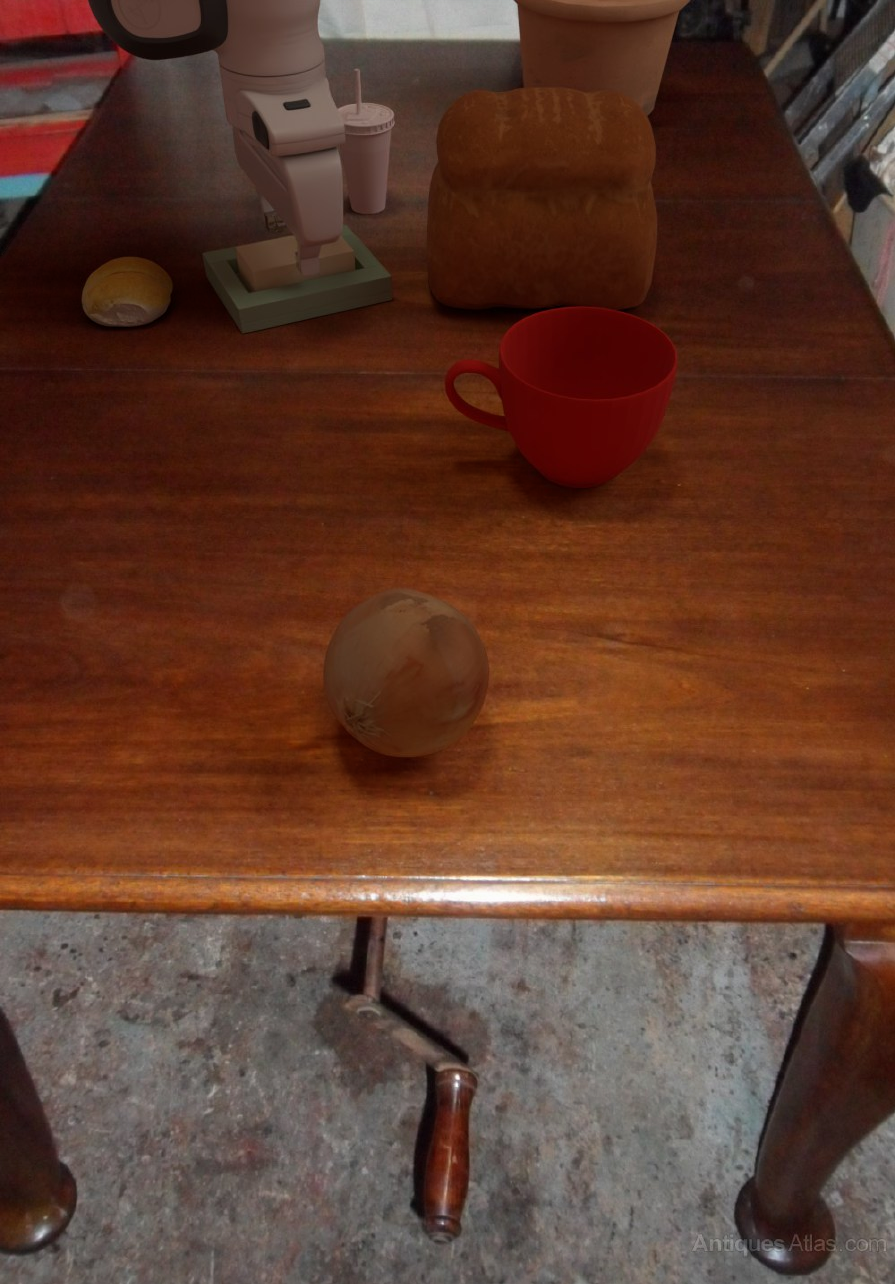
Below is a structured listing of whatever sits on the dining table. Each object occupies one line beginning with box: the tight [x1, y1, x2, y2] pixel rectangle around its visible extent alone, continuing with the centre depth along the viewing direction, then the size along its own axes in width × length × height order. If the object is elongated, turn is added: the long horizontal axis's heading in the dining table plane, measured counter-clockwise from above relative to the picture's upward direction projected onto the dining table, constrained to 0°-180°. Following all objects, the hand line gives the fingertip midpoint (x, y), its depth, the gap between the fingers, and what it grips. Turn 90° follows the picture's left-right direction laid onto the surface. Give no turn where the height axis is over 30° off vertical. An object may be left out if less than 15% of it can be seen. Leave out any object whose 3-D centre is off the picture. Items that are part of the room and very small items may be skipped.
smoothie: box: [337, 68, 396, 215], centre depth 111 cm, size 6×6×14 cm
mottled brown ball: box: [322, 587, 490, 758], centre depth 62 cm, size 10×10×10 cm
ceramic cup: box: [444, 306, 679, 489], centre depth 81 cm, size 13×17×10 cm
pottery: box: [513, 0, 691, 117], centre depth 132 cm, size 22×22×14 cm
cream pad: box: [234, 234, 355, 293], centre depth 102 cm, size 10×6×3 cm, turn 115°
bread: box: [426, 87, 658, 311], centre depth 99 cm, size 18×22×17 cm
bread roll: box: [81, 256, 174, 328], centre depth 100 cm, size 8×9×4 cm
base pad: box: [202, 224, 393, 335], centre depth 103 cm, size 15×12×2 cm
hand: (291, 250), depth 101 cm, fingers open, 8 cm apart
